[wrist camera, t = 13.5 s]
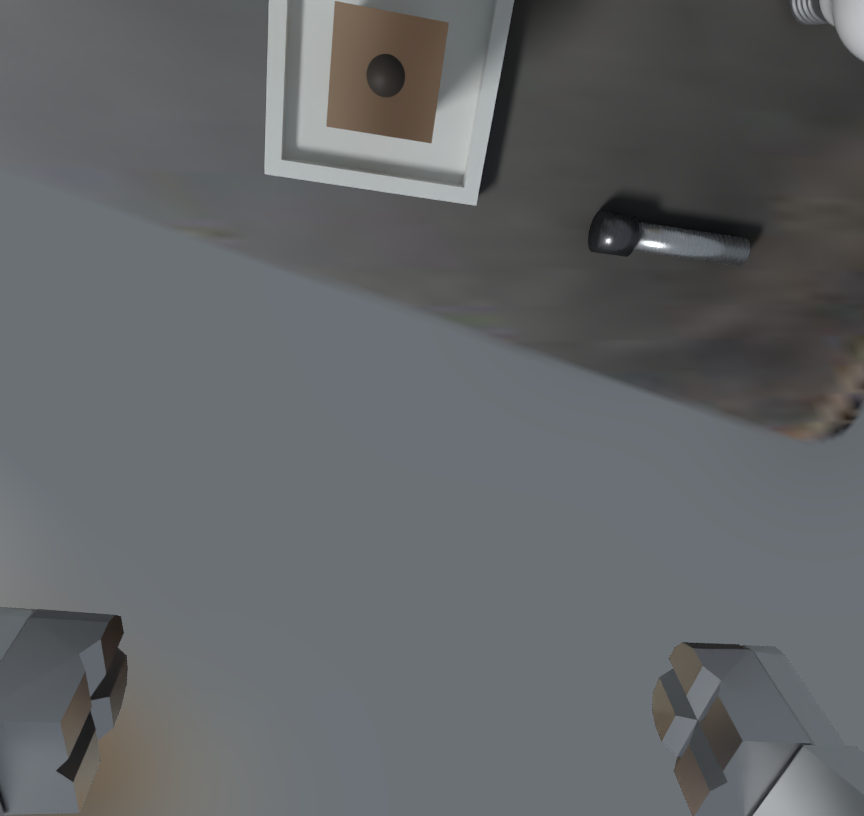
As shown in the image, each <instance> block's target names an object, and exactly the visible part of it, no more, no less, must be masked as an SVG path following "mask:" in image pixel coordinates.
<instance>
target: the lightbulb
mask: <svg viewBox="0 0 864 816" xmlns="http://www.w3.org/2000/svg"><path fill="white" fill-rule="evenodd" d="M789 6H790V11H791V13H792V15H793V17H794V18H795V19H796V20H797V21H798V22H800V23H802V24H805V25H816V24H831V25H832V26H834V27H835V28H836V31H837V34H838V36H839V38H840V39H841V41H842V43H843V44H844V45H845V47H846V48H847V49H848V50H849V51H850V52H851V53H852V54H853V55H854V56H856V57H857V58H858V59H860V60H861V61H863V62H864V0H789Z"/></svg>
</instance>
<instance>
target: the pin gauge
mask: <svg viewBox="0 0 864 816" xmlns="http://www.w3.org/2000/svg"><path fill="white" fill-rule="evenodd" d="M588 246H589V249H590V251H591V252H597V253H604V254H612V255H619V256H629V255H630V254H631V253H632V251H638V252H645V253H652V254H659V255H666V256H672V257H679V258H686V259H693V260H700V261H707V262H714V263H721V264H728V265H735V266H740V265H742V264H743V263H744V262H745V261H746V260H747V258H748V256H749V253H750V241H749V240H748V239H747V238H743V237H737V236H730V235H723V234H717V233H710V232H704V231H697V230H690V229H684V228H677V227H671V226H664V225H657V224H651V223H644V222H639V221H638V218H637V217H635V216H630V215H623V214H617V213H610V212H603V211H599V212H597V213H596V215H595V216H594V218H593V220H592V223H591V226H590V230H589V236H588Z"/></svg>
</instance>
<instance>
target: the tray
mask: <svg viewBox="0 0 864 816" xmlns="http://www.w3.org/2000/svg"><path fill="white" fill-rule="evenodd" d="M335 1H338V2H344V3H349V4H354V5H359V6H365V7H370V8H375V9H381V10H386V11H391V12H396V13H402V14H407V15H412V16H417V17H423V18H428V19H433V20H439V21H444V22H449V26H448V33H447V39H446V46H445V53H444V60H443V67H442V74H441V81H440V88H439V95H438V102H437V109H436V115H435V122H434V129H433V136H432V143H425V142H419V141H413V140H407V139H400V138H394V137H388V136H382V135H376V134H369V133H363V132H357V131H351V130H345V129H338V128H332V127H326V123H327V108H328V94H329V79H330V64H331V50H332V35H333V21H334V6H335ZM513 5H514V0H269V18H268V57H267V96H266V135H265V174H268V175H275V176H281V177H288V178H295V179H301V180H308V181H315V182H321V183H328V184H335V185H342V186H348V187H355V188H362V189H368V190H375V191H382V192H388V193H395V194H402V195H409V196H415V197H422V198H429V199H435V200H442V201H449V202H455V203H462V204H469V205H475V206H476V204H477V198H478V193H479V188H480V182H481V177H482V171H483V166H484V161H485V155H486V150H487V144H488V139H489V134H490V128H491V123H492V118H493V112H494V107H495V101H496V96H497V91H498V85H499V80H500V74H501V69H502V64H503V58H504V53H505V48H506V42H507V37H508V31H509V26H510V21H511V15H512V10H513Z"/></svg>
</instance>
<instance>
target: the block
mask: <svg viewBox="0 0 864 816" xmlns="http://www.w3.org/2000/svg"><path fill="white" fill-rule="evenodd" d="M448 26H449V22H444V21H439V20H433V19H428V18H423V17H417V16H412V15H407V14H402V13H396V12H391V11H386V10H381V9H375V8H370V7H365V6H359V5H354V4H349V3H344V2H338V1H335V6H334V21H333V35H332V50H331V64H330V79H329V94H328V108H327V123H326V127H332V128H338V129H345V130H351V131H357V132H363V133H369V134H376V135H382V136H388V137H394V138H400V139H407V140H413V141H419V142H425V143H432V136H433V129H434V122H435V115H436V109H437V102H438V95H439V88H440V81H441V74H442V67H443V60H444V53H445V46H446V39H447V33H448Z"/></svg>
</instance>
